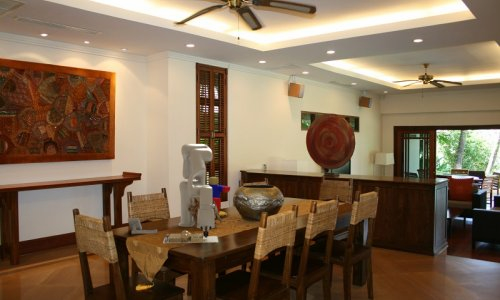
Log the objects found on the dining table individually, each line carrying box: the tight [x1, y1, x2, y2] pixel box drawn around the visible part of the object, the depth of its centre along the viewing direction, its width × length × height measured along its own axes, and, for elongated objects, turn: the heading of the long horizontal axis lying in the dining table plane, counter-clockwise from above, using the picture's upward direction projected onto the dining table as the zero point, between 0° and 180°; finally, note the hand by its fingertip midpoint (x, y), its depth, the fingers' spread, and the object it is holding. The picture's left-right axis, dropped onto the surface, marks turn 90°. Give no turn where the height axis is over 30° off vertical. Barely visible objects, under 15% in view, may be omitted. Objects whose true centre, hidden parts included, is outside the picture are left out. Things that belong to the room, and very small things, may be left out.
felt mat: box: [162, 235, 219, 244], centre depth 252 cm, size 15×32×1 cm, turn 97°
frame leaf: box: [168, 229, 189, 244], centre depth 251 cm, size 12×11×4 cm
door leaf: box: [186, 231, 203, 242], centre depth 252 cm, size 12×11×4 cm
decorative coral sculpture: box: [188, 198, 224, 229], centre depth 297 cm, size 26×23×30 cm
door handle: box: [127, 217, 158, 236], centre depth 270 cm, size 18×8×20 cm
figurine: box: [208, 176, 231, 218], centre depth 338 cm, size 22×22×30 cm
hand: (205, 237), depth 253 cm, fingers closed
